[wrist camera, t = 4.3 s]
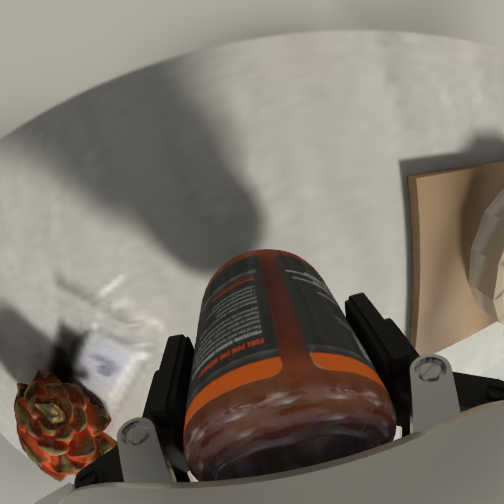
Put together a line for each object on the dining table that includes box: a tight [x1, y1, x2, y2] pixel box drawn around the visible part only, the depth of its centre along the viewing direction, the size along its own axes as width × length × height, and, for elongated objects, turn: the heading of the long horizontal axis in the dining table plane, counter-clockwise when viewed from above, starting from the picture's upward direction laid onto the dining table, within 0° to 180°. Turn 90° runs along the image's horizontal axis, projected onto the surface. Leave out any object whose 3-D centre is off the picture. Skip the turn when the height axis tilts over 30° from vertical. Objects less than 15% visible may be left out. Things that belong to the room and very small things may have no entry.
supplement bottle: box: [183, 249, 397, 482], centre depth 9 cm, size 6×6×11 cm
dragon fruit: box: [14, 370, 118, 481], centre depth 17 cm, size 8×8×12 cm
